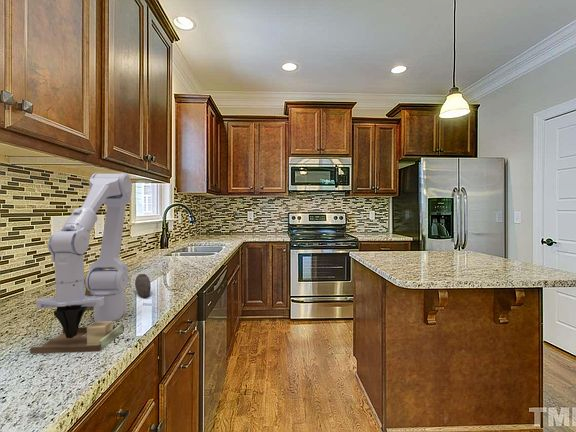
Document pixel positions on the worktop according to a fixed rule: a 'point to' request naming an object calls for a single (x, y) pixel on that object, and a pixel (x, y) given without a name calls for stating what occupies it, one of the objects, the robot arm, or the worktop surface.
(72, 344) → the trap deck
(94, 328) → the maple cube
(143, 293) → the perforated stone tool
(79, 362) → the worktop surface
